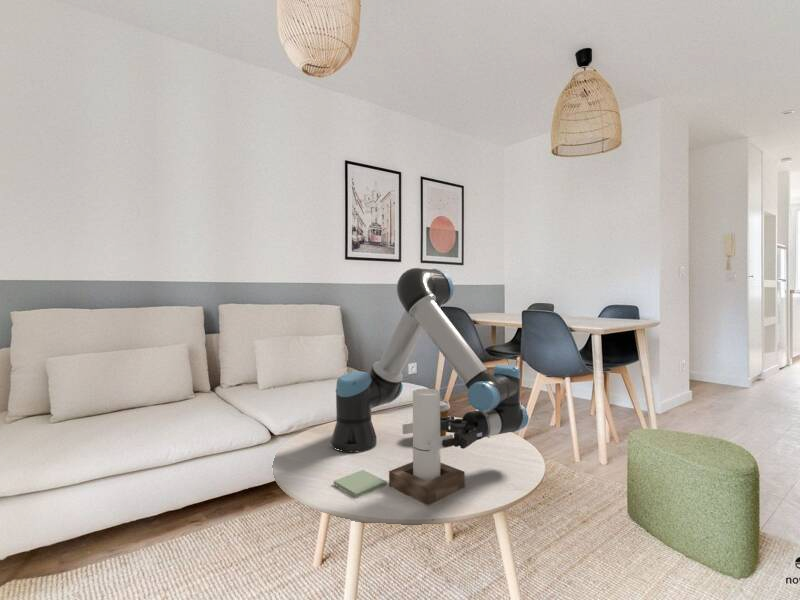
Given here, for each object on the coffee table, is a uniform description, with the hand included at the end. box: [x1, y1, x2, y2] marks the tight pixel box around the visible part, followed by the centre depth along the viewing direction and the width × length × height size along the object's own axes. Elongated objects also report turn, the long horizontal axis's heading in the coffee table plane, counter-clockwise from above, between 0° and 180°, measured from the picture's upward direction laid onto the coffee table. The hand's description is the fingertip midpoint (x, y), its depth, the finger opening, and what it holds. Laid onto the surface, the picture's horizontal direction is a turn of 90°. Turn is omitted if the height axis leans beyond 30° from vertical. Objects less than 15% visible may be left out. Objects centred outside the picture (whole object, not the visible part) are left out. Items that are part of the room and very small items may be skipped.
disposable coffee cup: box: [440, 399, 451, 437], centre depth 149 cm, size 10×10×12 cm
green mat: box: [333, 469, 387, 498], centre depth 112 cm, size 10×10×1 cm
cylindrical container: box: [412, 388, 441, 482], centre depth 110 cm, size 7×7×25 cm
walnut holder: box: [388, 461, 466, 506], centre depth 110 cm, size 14×14×4 cm
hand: (415, 436), depth 109 cm, fingers open, 13 cm apart
